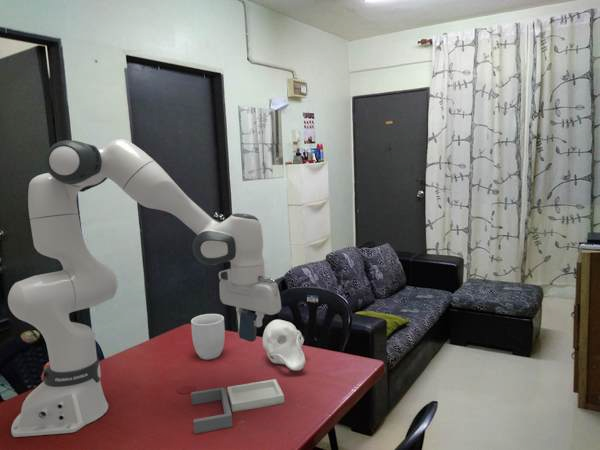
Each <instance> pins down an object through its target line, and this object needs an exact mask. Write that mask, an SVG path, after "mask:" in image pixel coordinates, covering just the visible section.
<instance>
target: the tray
mask: <svg viewBox="0 0 600 450" xmlns="http://www.w3.org/2000/svg"><path fill="white" fill-rule="evenodd" d="M226 387H227V390H226V391H227V398H228V402H229V406H230V410H231V413H236V412H242V411H247V410H253V409H258V408H264V407H270V406H275V405H281V404H285V395H284V392H283V390H282V389H281V386H280V385H279V383H278V381H277V379H276V378H274V379H268V380H262V381H256V382H249V383H243V384H238V385H237V384H235V385H232V386H226Z"/></svg>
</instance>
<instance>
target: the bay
mask: <svg viewBox="0 0 600 450" xmlns="http://www.w3.org/2000/svg"><path fill="white" fill-rule="evenodd" d="M190 398H191V405H192V406H193V405H198V404H204V403H211V402H217V401H221V403H222V408H223V412H224V413H223V414H217V415H213V416H212V415H211V416H205V417H201V418H193V431H194V435H197V434H200V433H206V432H211V431H217V430H221V429H227V428H232V427H233V415H232V409H231V405H230V401H229V397H228V393H227V390H226V387H225V386H222V387H216V388H211V389H210V388H209V389H205V390H204V389H203V390H197V391H191V392H190Z"/></svg>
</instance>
